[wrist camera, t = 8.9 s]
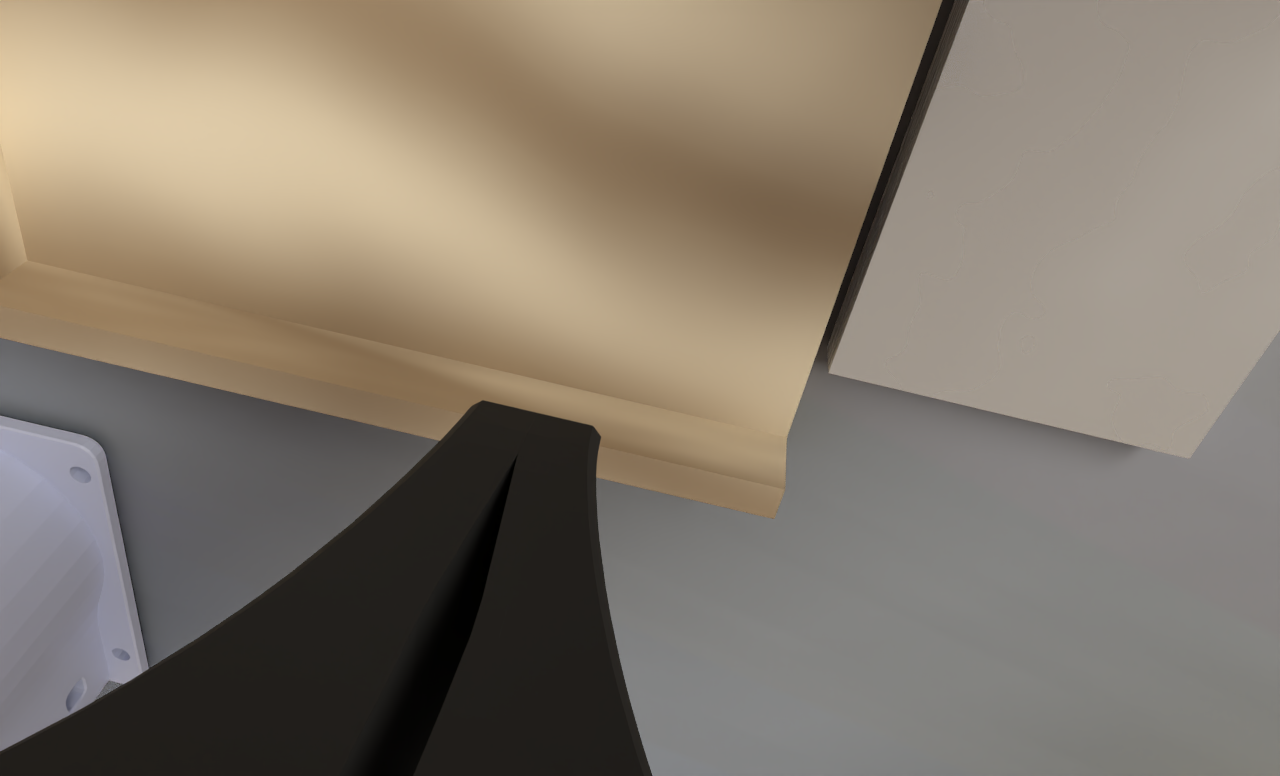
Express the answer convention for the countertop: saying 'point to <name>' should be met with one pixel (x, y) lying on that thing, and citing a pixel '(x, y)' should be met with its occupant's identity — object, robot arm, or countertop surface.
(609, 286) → the tray
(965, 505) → the countertop surface
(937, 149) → the cover plate
